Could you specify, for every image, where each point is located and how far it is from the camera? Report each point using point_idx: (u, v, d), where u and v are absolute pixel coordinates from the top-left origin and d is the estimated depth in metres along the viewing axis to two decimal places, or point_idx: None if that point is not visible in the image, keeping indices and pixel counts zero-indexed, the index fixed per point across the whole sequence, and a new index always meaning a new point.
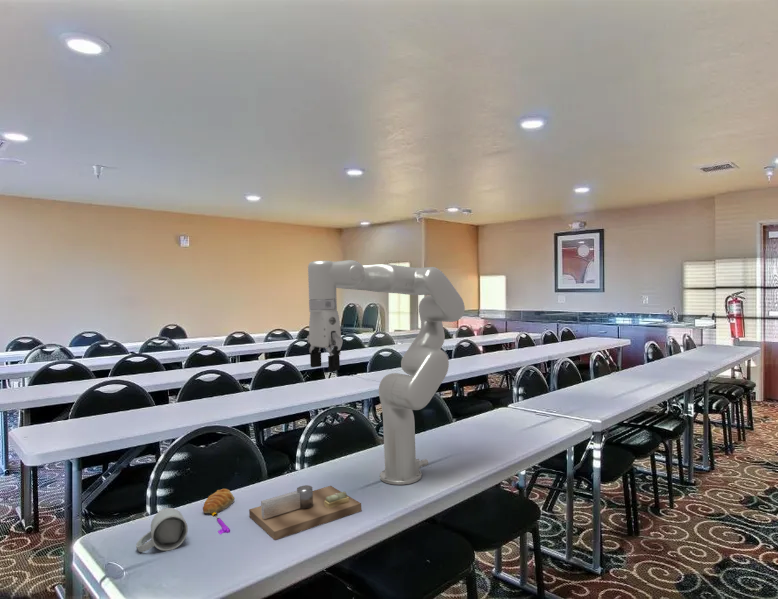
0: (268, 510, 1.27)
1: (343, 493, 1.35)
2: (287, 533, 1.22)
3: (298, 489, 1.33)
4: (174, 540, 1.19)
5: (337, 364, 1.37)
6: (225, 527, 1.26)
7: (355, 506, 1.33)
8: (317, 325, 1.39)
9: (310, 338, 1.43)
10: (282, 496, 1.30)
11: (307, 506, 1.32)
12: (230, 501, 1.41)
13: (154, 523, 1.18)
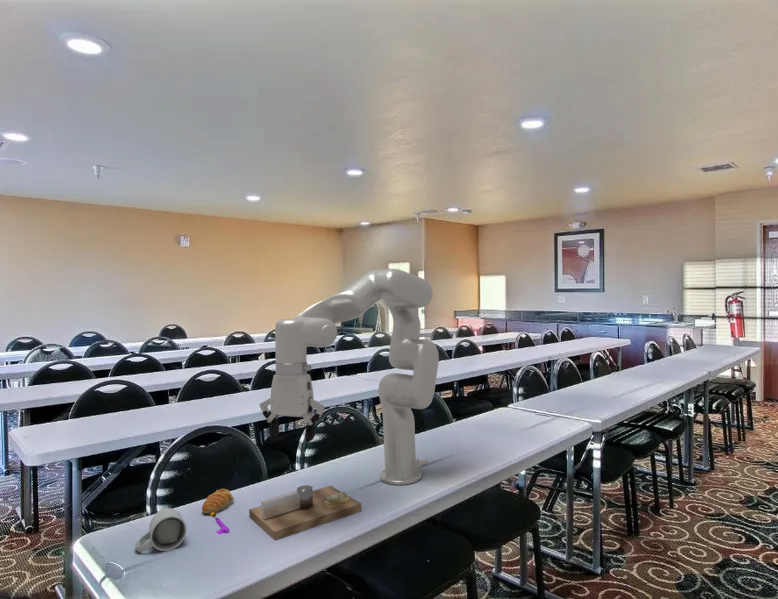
0: (268, 510, 1.27)
1: (343, 493, 1.35)
2: (287, 533, 1.22)
3: (298, 489, 1.33)
4: (173, 540, 1.19)
5: (314, 433, 1.26)
6: (224, 527, 1.26)
7: (355, 506, 1.33)
8: (290, 392, 1.24)
9: (273, 406, 1.26)
10: (282, 496, 1.30)
11: (307, 506, 1.32)
12: (229, 501, 1.40)
13: (153, 523, 1.17)
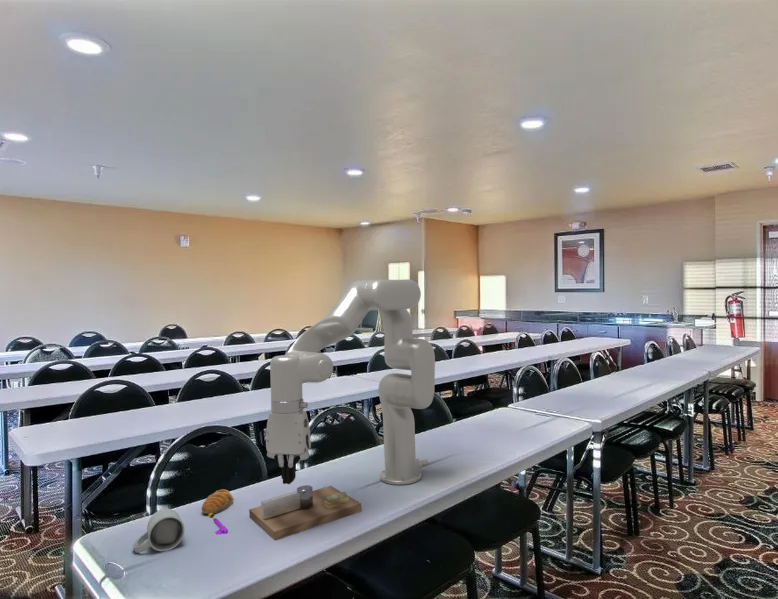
0: (268, 510, 1.27)
1: (343, 493, 1.35)
2: (287, 533, 1.22)
3: (298, 489, 1.33)
4: (171, 541, 1.19)
5: (294, 475, 1.25)
6: (223, 528, 1.25)
7: (355, 506, 1.33)
8: (286, 430, 1.22)
9: (269, 445, 1.24)
10: (282, 496, 1.30)
11: (307, 506, 1.32)
12: (229, 501, 1.40)
13: (151, 524, 1.17)
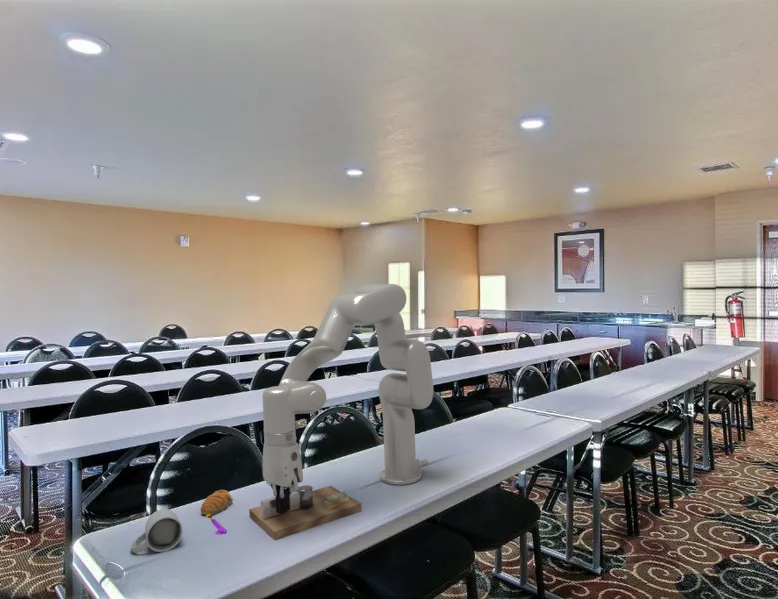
0: (268, 509, 1.27)
1: (343, 493, 1.35)
2: (287, 533, 1.22)
3: None
4: (169, 541, 1.18)
5: (288, 505, 1.26)
6: (221, 528, 1.25)
7: (355, 506, 1.33)
8: (275, 461, 1.24)
9: (264, 473, 1.27)
10: None
11: (307, 506, 1.32)
12: (228, 502, 1.40)
13: (149, 524, 1.17)
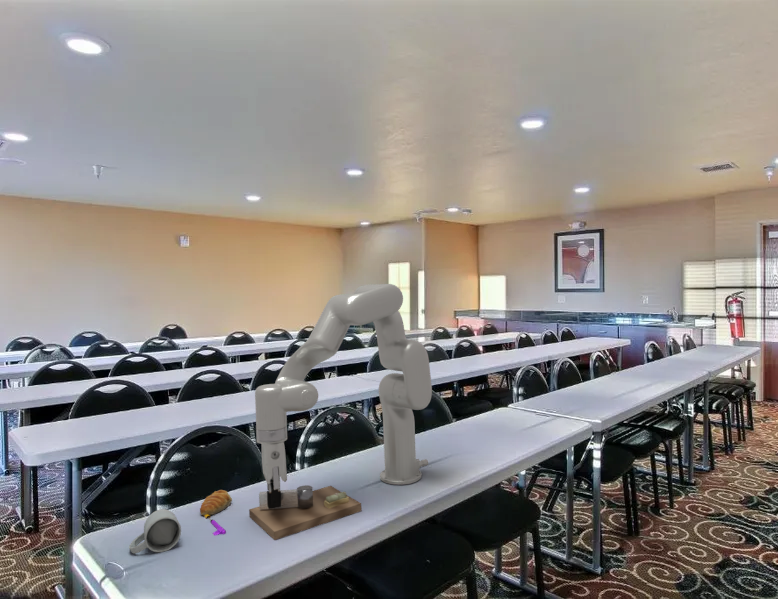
0: (264, 502, 1.32)
1: (343, 493, 1.35)
2: (287, 533, 1.22)
3: (298, 488, 1.34)
4: (167, 541, 1.18)
5: (277, 502, 1.29)
6: (221, 528, 1.25)
7: (355, 506, 1.33)
8: (263, 457, 1.28)
9: None
10: None
11: (303, 506, 1.31)
12: (227, 502, 1.40)
13: (147, 524, 1.17)
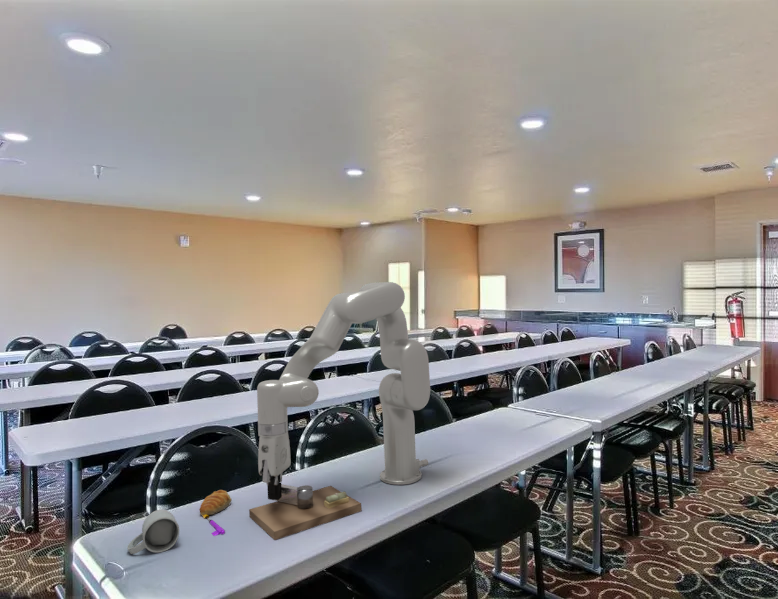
0: None
1: (343, 493, 1.35)
2: (287, 533, 1.22)
3: (300, 486, 1.34)
4: (166, 542, 1.18)
5: (274, 494, 1.33)
6: (220, 528, 1.25)
7: (355, 506, 1.33)
8: None
9: None
10: (285, 486, 1.36)
11: (299, 506, 1.32)
12: (227, 502, 1.40)
13: (145, 525, 1.17)
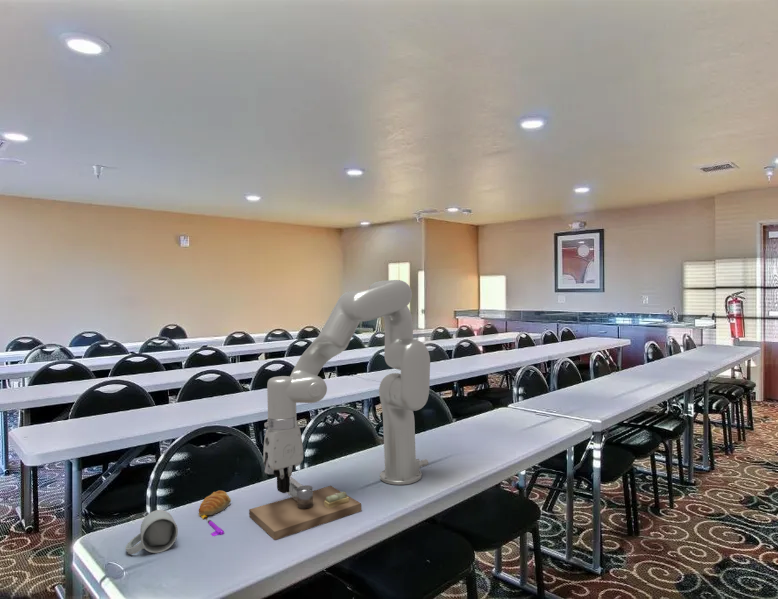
0: None
1: (343, 493, 1.35)
2: (287, 533, 1.22)
3: (303, 486, 1.35)
4: (164, 542, 1.18)
5: (279, 487, 1.37)
6: (219, 529, 1.25)
7: (355, 506, 1.33)
8: None
9: None
10: (294, 482, 1.38)
11: (297, 505, 1.33)
12: (226, 503, 1.39)
13: (144, 525, 1.17)
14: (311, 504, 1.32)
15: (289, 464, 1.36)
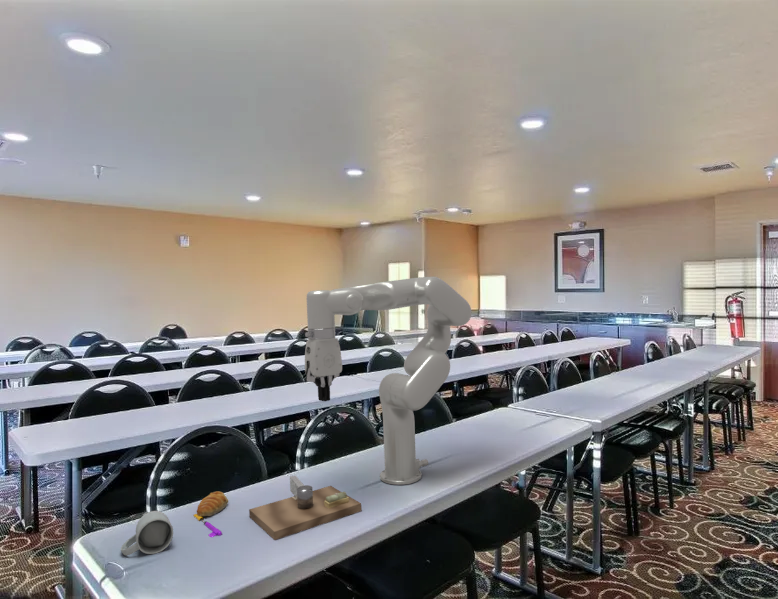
0: (291, 485, 1.42)
1: (343, 493, 1.35)
2: (287, 533, 1.22)
3: (304, 486, 1.35)
4: (159, 543, 1.18)
5: (321, 395, 1.42)
6: (216, 530, 1.24)
7: (355, 506, 1.33)
8: None
9: None
10: (297, 482, 1.39)
11: (297, 504, 1.33)
12: (224, 504, 1.39)
13: (139, 526, 1.16)
14: (310, 504, 1.32)
15: (329, 373, 1.42)
